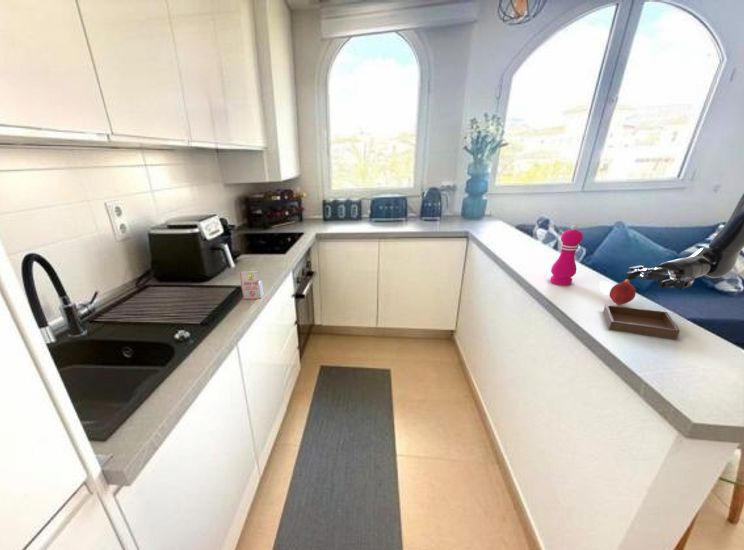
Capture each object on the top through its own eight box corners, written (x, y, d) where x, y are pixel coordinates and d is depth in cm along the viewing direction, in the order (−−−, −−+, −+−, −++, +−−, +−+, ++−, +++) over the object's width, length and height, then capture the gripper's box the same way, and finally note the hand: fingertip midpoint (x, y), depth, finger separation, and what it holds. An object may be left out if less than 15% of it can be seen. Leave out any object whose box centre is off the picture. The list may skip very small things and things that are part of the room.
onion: (630, 310, 99) (639, 284, 95) (605, 306, 102) (613, 280, 99) (631, 303, 102) (641, 278, 99) (607, 299, 106) (615, 275, 102)
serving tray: (663, 320, 93) (667, 311, 91) (676, 339, 84) (680, 330, 83) (602, 312, 99) (605, 304, 98) (608, 329, 90) (611, 321, 89)
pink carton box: (246, 295, 129) (241, 270, 125) (263, 295, 128) (259, 269, 124) (243, 299, 126) (238, 273, 121) (261, 299, 125) (257, 273, 121)
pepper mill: (552, 277, 125) (565, 221, 116) (575, 281, 120) (591, 224, 111) (545, 283, 121) (558, 225, 112) (569, 287, 116) (585, 228, 107)
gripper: (655, 254, 111) (621, 262, 106) (713, 265, 99) (677, 275, 94) (647, 276, 114) (614, 285, 110) (702, 289, 102) (667, 300, 97)
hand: (643, 280), depth 102 cm, fingers open, 8 cm apart
